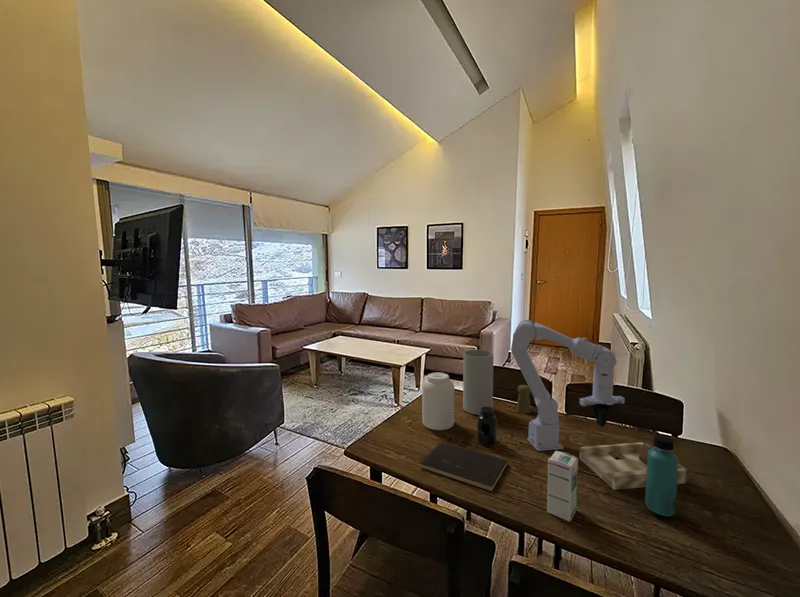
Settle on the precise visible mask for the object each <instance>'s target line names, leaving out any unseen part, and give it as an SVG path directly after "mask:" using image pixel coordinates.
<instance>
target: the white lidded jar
mask: <svg viewBox="0 0 800 597" xmlns="http://www.w3.org/2000/svg"><path fill="white" fill-rule="evenodd" d="M421 393H422V394H421V395H422V396H421V399H422V400H421V401H422V409H421V410H422V411H421V412H422V417H421V419H422V420H421V421H422V424H423V426H424V427H426V428H428V429H430V430H432V431H433V430H434V431H445V430H450V429H451V428H452V427H454V424H455V386H454V383H453V381H452V380H451V379H450V376H449V374H447V373H444V372H440V371H439V372H431V373H428V374H427V377H426V379H425V380H424V381H423V383H422V391H421Z"/></svg>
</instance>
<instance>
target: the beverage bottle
mask: <svg viewBox="0 0 800 597" xmlns="http://www.w3.org/2000/svg"><path fill="white" fill-rule="evenodd" d="M652 444H653V447H654V446H655V448H652V449H650V450H648V460H647V470H646V471H647V474H646V478H645V479H646V484H645V485H646V487H645V492H644V503H645V506H646V507H647V509H648V510H650V511H651V512H652V513H655V514H656V515H660V516H663V517H672V516H674V515H675V513H676V508H677V492H678V486H679V485H678V484H677V477H678V476H677V471H678V463H679V457H678V456H677V455H676V454H675V453H674V452H673V451H674V447H675V446H674V440H673V438H670V437H668V436H666V435H659V434H657V435H654V437H653V441H652Z"/></svg>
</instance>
